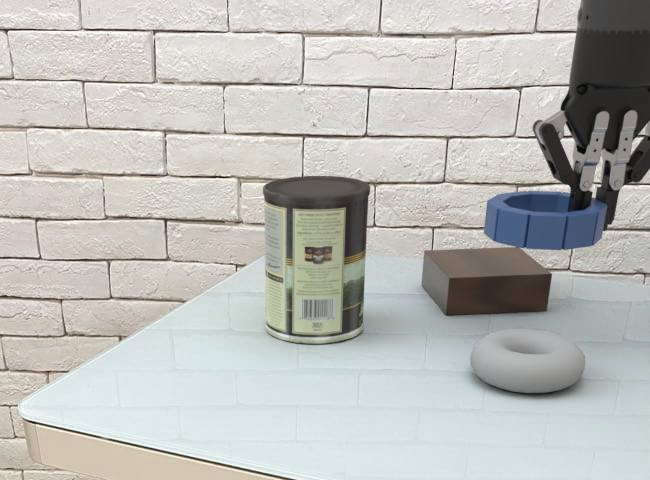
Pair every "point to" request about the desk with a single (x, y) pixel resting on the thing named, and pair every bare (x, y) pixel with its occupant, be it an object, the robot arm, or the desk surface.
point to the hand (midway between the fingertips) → (588, 229)
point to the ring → (543, 221)
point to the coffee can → (315, 258)
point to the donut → (527, 360)
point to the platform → (485, 280)
